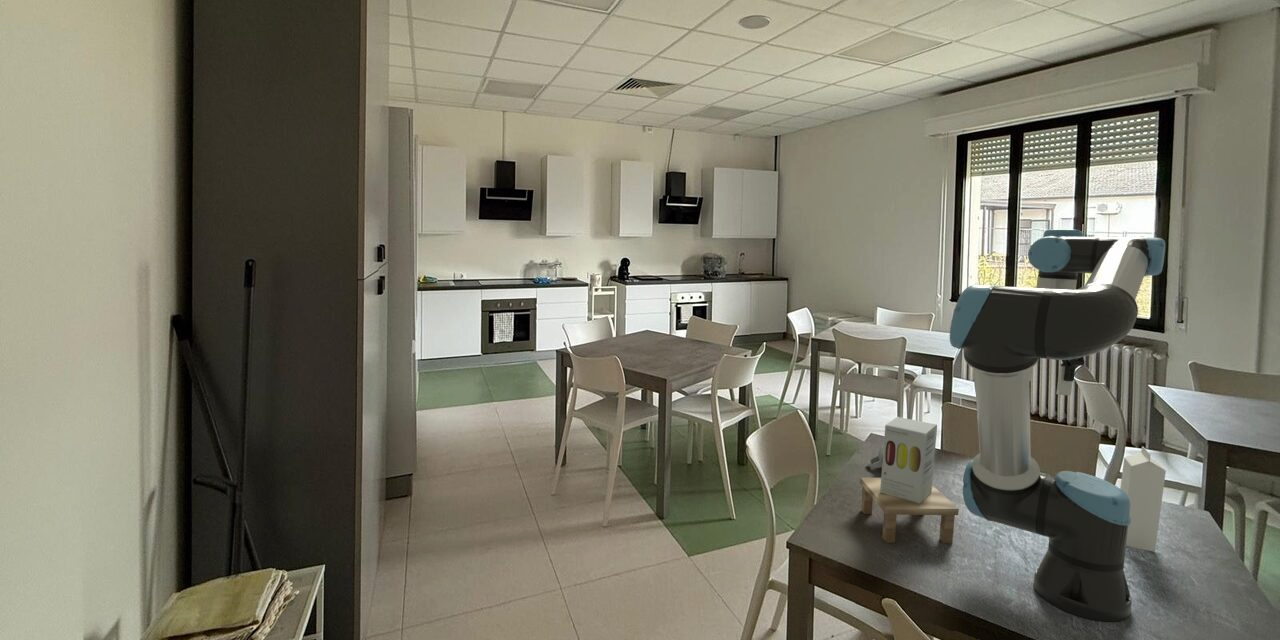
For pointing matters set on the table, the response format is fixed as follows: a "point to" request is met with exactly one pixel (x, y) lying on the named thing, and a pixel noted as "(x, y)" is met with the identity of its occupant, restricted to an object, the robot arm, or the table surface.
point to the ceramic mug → (876, 460)
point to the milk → (1143, 498)
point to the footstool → (907, 509)
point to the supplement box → (908, 459)
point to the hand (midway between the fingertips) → (1042, 387)
